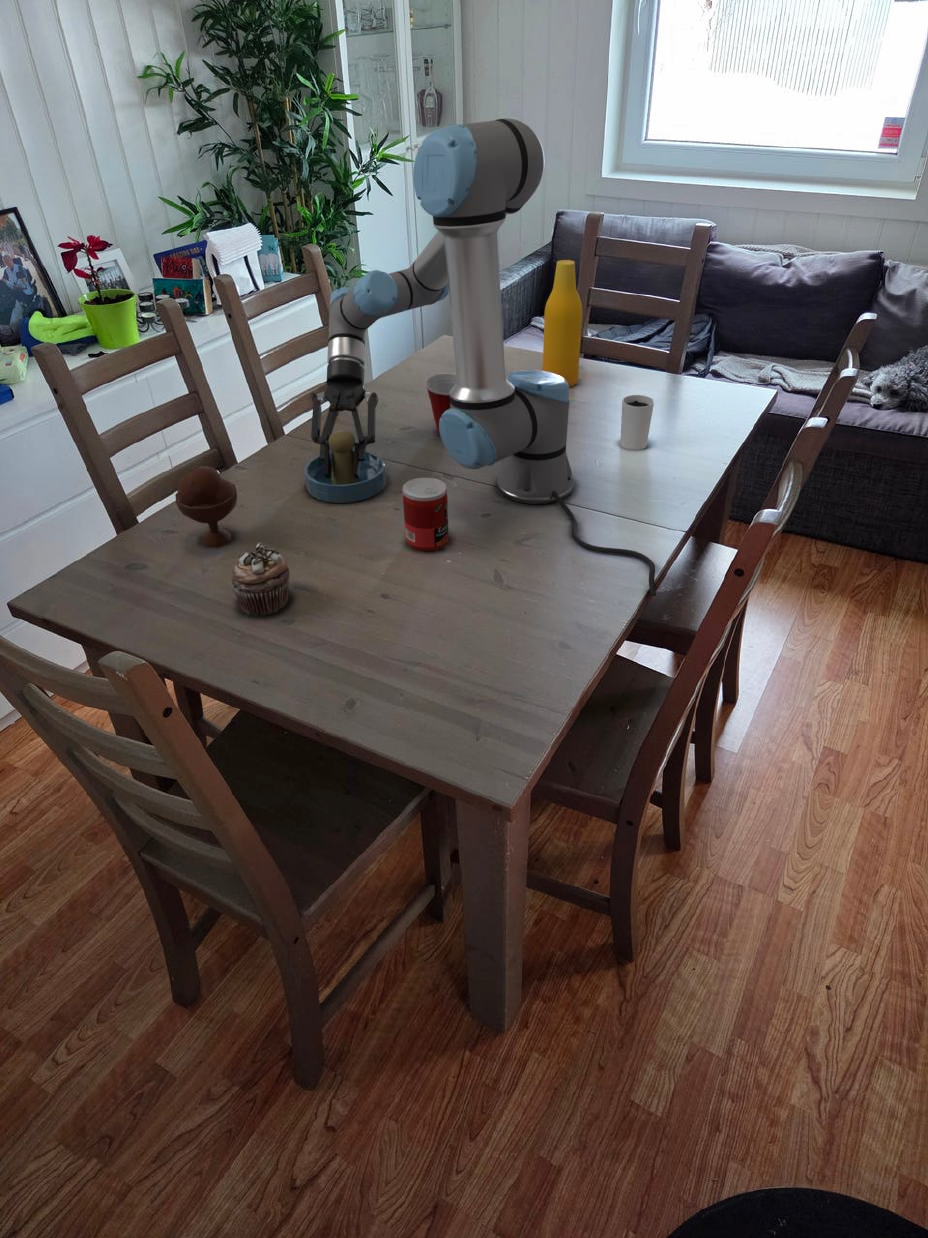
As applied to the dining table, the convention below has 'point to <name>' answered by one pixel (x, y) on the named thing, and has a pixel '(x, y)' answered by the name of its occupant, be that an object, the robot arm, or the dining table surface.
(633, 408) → the white coffee cup
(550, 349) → the beer bottle
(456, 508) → the dining table surface
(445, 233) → the robot arm
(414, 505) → the canned food
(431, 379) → the plastic cup
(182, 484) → the ice cream bowl
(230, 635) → the dining table surface
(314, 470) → the bowl
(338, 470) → the olive game pawn
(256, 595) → the cupcake
